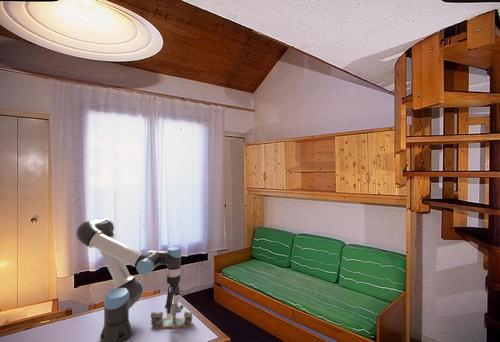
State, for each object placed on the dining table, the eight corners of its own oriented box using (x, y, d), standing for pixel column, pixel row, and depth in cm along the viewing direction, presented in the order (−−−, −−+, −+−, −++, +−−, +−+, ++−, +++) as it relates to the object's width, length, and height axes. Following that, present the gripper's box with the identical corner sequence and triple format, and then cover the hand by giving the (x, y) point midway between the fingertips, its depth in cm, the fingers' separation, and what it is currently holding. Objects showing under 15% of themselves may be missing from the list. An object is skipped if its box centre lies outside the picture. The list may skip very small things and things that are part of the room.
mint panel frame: (149, 328, 149) (149, 315, 149) (154, 319, 158) (154, 307, 158) (190, 328, 149) (190, 315, 149) (193, 319, 158) (193, 307, 158)
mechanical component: (182, 324, 152) (182, 306, 152) (164, 323, 152) (164, 306, 152) (183, 321, 154) (183, 303, 155) (166, 321, 155) (166, 303, 155)
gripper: (174, 284, 141) (173, 324, 141) (185, 267, 166) (184, 302, 166) (160, 283, 141) (158, 324, 141) (173, 267, 166) (172, 301, 166)
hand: (172, 312), depth 153 cm, fingers open, 13 cm apart
